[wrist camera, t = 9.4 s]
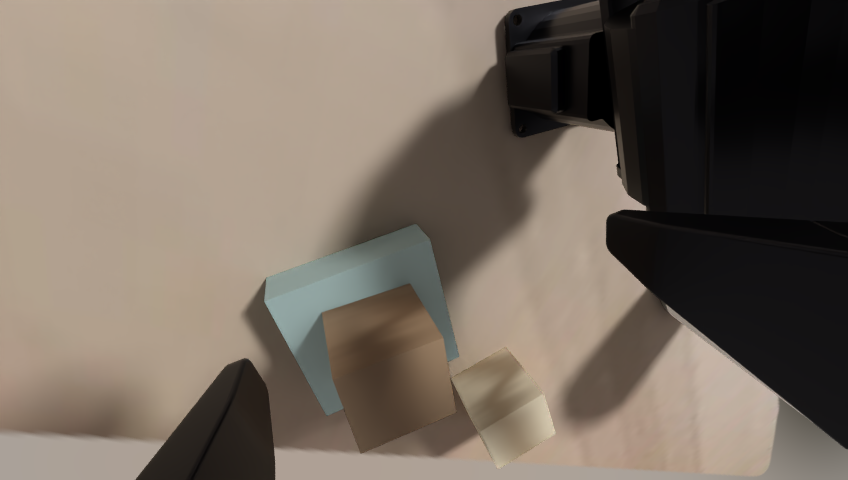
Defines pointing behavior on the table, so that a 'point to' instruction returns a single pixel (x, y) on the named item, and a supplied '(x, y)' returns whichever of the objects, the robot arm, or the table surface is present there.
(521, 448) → the beech cube
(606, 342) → the table surface
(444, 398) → the walnut cube
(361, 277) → the base block
